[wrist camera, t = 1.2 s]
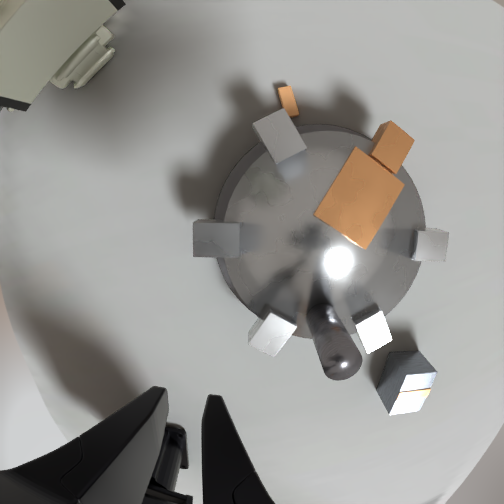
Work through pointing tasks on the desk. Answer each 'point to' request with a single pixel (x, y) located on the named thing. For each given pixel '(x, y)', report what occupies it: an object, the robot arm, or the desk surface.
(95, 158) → the desk surface
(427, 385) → the banded grey cube
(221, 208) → the plinth
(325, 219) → the sprocket
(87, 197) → the desk surface
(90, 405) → the desk surface
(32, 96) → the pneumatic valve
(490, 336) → the desk surface
